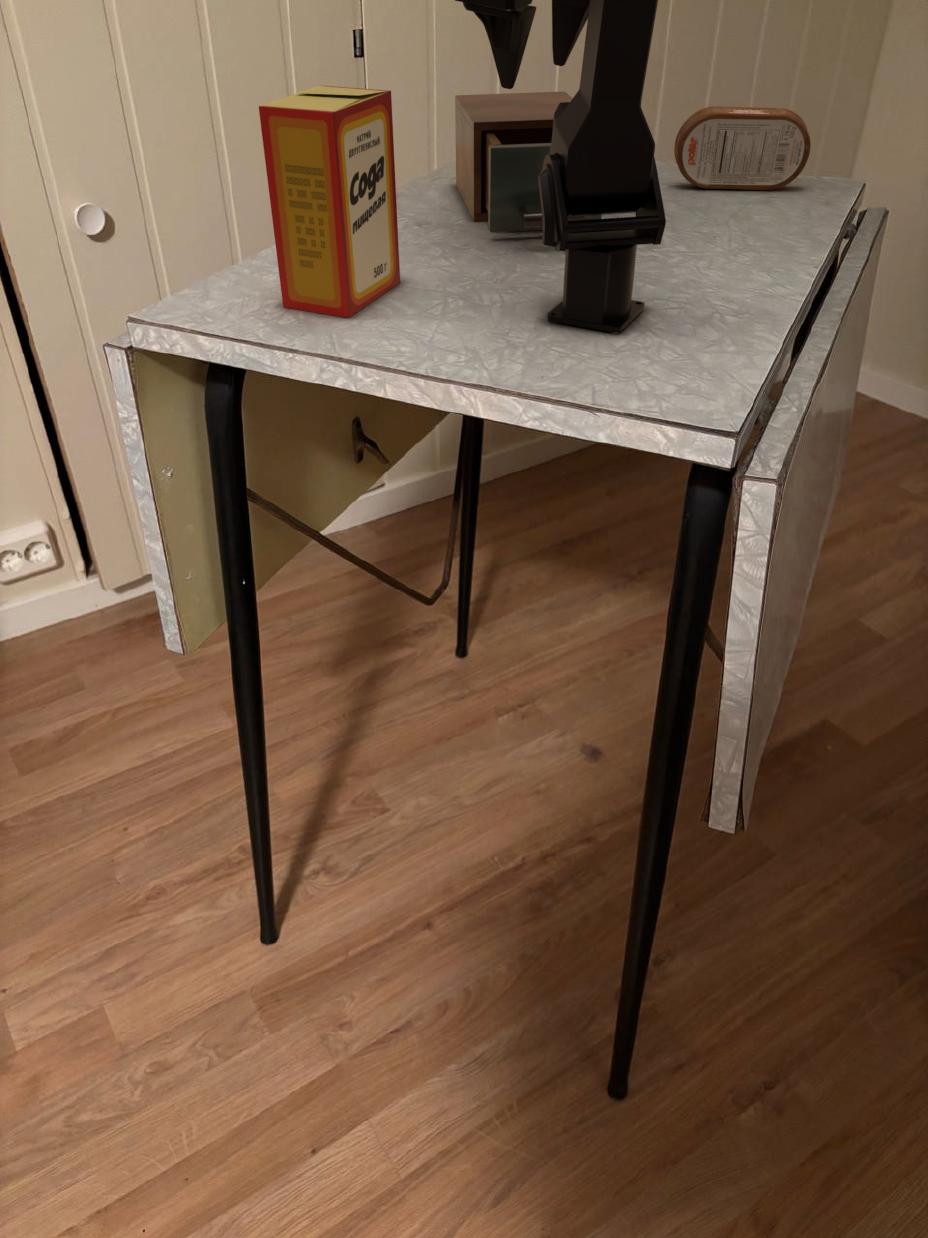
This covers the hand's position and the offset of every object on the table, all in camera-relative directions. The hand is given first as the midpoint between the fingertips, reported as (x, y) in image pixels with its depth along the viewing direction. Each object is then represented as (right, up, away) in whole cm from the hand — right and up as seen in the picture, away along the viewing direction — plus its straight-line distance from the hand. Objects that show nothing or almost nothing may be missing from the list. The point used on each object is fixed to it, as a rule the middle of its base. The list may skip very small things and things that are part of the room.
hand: (533, 76), depth 92 cm
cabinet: (0, -4, +18) cm, 19 cm away
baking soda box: (-17, -22, -5) cm, 29 cm away
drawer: (+1, -9, +10) cm, 14 cm away
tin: (+25, -1, +22) cm, 33 cm away
